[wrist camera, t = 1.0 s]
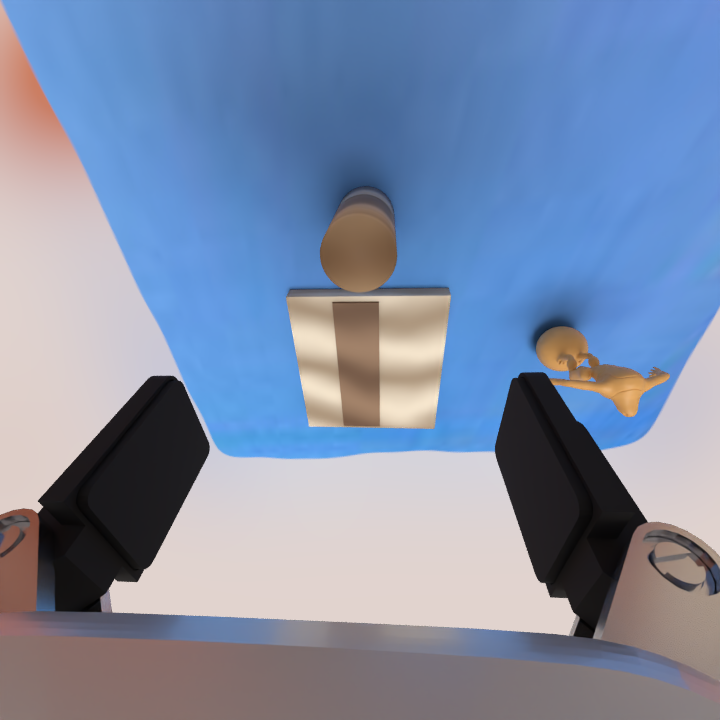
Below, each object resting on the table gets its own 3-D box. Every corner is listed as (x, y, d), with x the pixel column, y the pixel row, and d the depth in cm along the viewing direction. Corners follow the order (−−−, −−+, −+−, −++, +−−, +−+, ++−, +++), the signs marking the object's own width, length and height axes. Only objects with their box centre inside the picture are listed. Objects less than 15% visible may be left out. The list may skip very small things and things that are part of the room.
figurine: (503, 357, 34) (551, 457, 24) (510, 302, 30) (568, 392, 21) (595, 350, 33) (683, 451, 23) (612, 292, 29) (724, 382, 20)
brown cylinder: (335, 187, 26) (315, 217, 19) (394, 185, 26) (397, 215, 18) (340, 246, 28) (324, 292, 21) (393, 245, 28) (396, 292, 21)
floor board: (289, 289, 31) (285, 298, 30) (448, 288, 30) (451, 297, 29) (311, 416, 40) (308, 428, 39) (432, 418, 39) (434, 430, 38)
